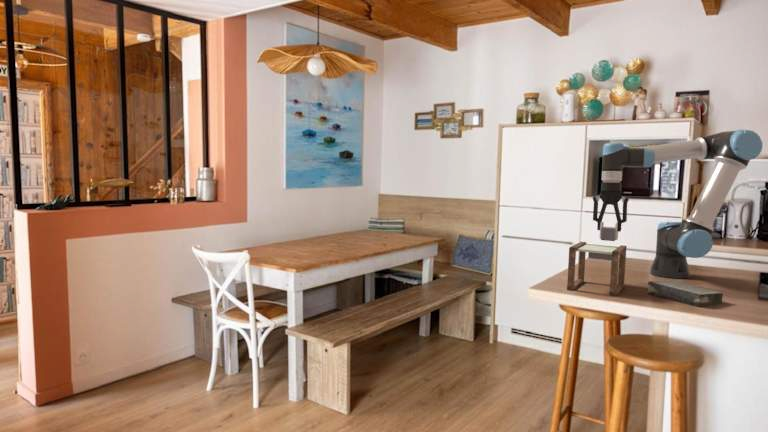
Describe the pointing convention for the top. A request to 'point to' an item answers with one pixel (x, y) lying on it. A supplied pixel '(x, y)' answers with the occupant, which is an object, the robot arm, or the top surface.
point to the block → (684, 293)
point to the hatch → (598, 251)
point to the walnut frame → (617, 256)
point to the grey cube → (608, 233)
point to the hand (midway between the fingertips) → (608, 238)
